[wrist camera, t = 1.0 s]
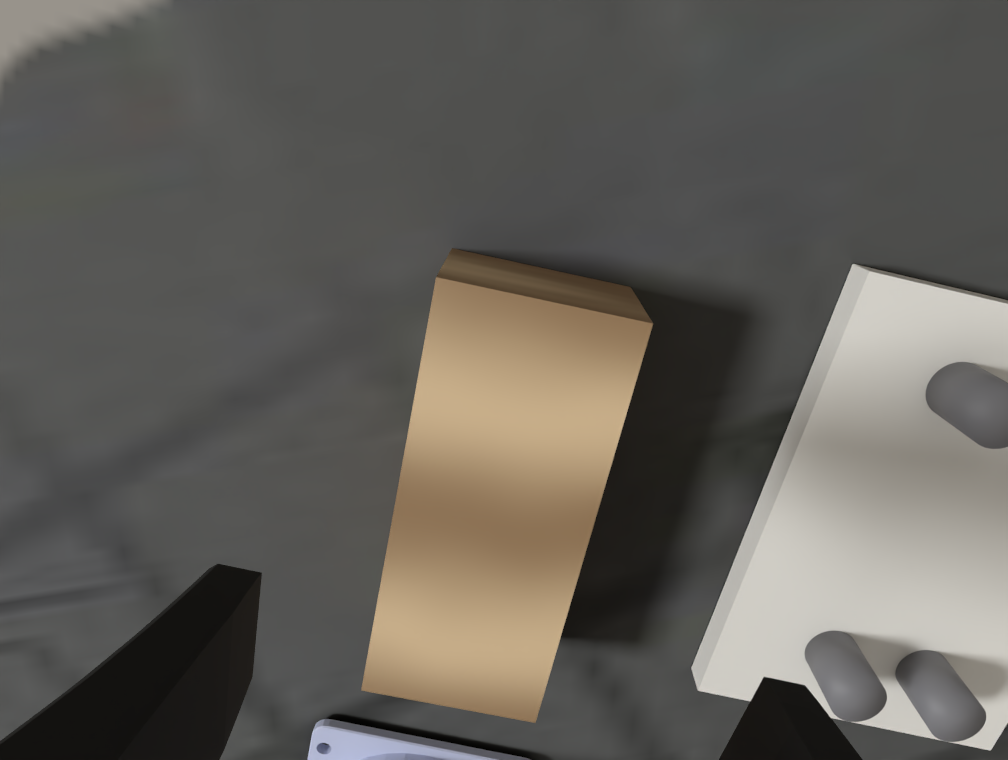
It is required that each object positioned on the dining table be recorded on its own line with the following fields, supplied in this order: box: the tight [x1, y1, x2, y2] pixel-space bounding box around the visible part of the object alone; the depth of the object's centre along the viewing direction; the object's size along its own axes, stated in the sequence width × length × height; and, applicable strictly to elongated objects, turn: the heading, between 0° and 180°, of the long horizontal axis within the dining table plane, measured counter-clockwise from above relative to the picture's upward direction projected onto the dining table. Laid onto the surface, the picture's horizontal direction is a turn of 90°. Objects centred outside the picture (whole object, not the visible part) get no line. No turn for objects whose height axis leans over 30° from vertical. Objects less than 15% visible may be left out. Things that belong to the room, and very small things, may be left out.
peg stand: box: [691, 264, 1008, 750], centre depth 21 cm, size 14×10×3 cm
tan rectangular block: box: [361, 248, 653, 723], centre depth 20 cm, size 12×5×4 cm, turn 168°
